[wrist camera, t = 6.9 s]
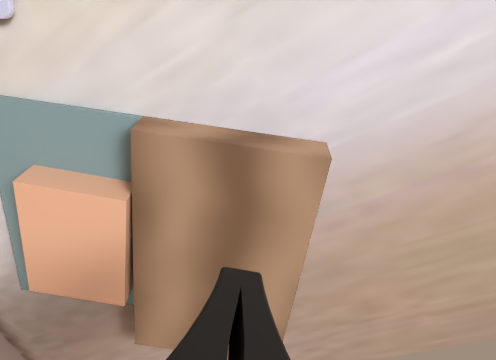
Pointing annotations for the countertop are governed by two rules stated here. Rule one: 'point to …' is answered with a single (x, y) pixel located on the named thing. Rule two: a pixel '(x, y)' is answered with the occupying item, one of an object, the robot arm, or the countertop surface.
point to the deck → (217, 218)
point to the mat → (58, 151)
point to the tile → (76, 234)
